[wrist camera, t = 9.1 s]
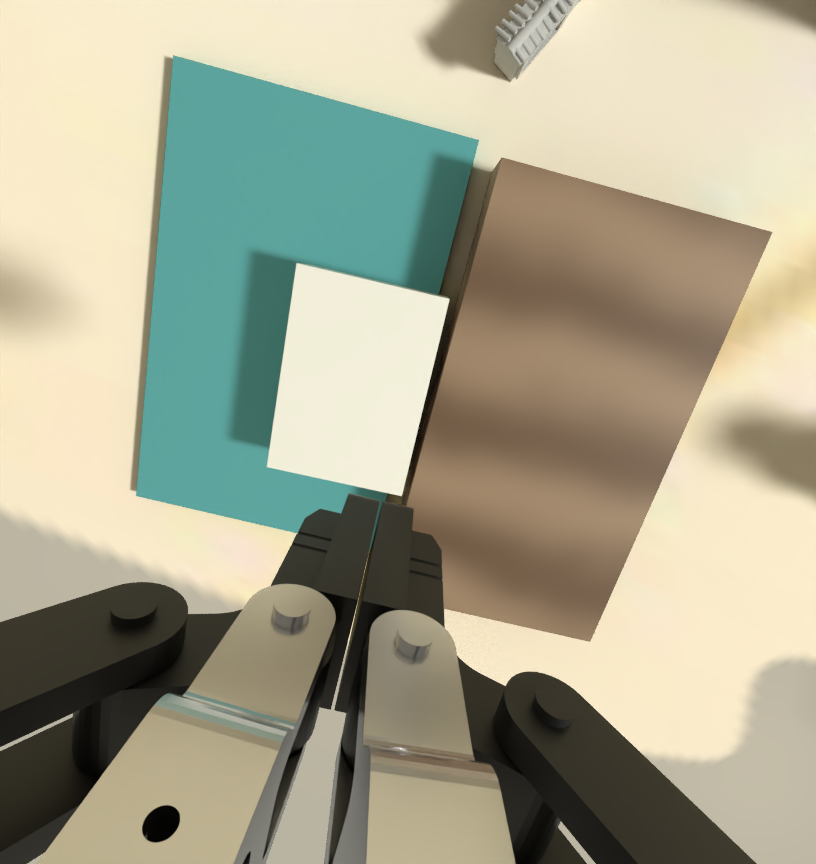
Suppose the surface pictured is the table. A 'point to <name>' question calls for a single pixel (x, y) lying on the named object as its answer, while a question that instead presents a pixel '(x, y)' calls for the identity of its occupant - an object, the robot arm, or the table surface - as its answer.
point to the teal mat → (271, 270)
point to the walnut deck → (567, 389)
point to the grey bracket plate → (528, 33)
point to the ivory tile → (354, 378)
